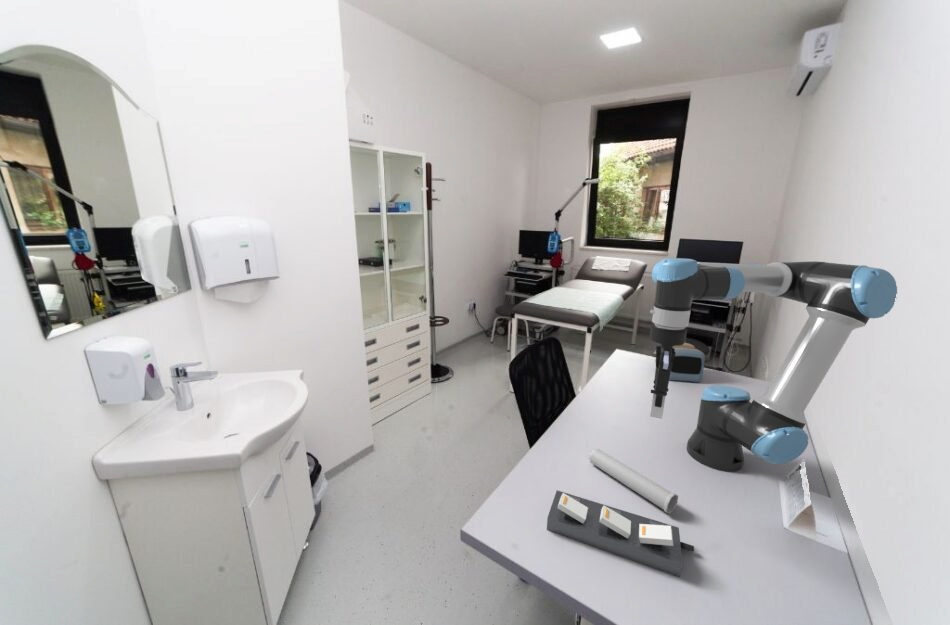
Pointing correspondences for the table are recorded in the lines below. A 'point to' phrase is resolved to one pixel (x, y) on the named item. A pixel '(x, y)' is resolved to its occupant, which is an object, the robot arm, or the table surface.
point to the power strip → (617, 536)
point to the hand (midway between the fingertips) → (655, 416)
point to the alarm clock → (687, 364)
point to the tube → (634, 480)
